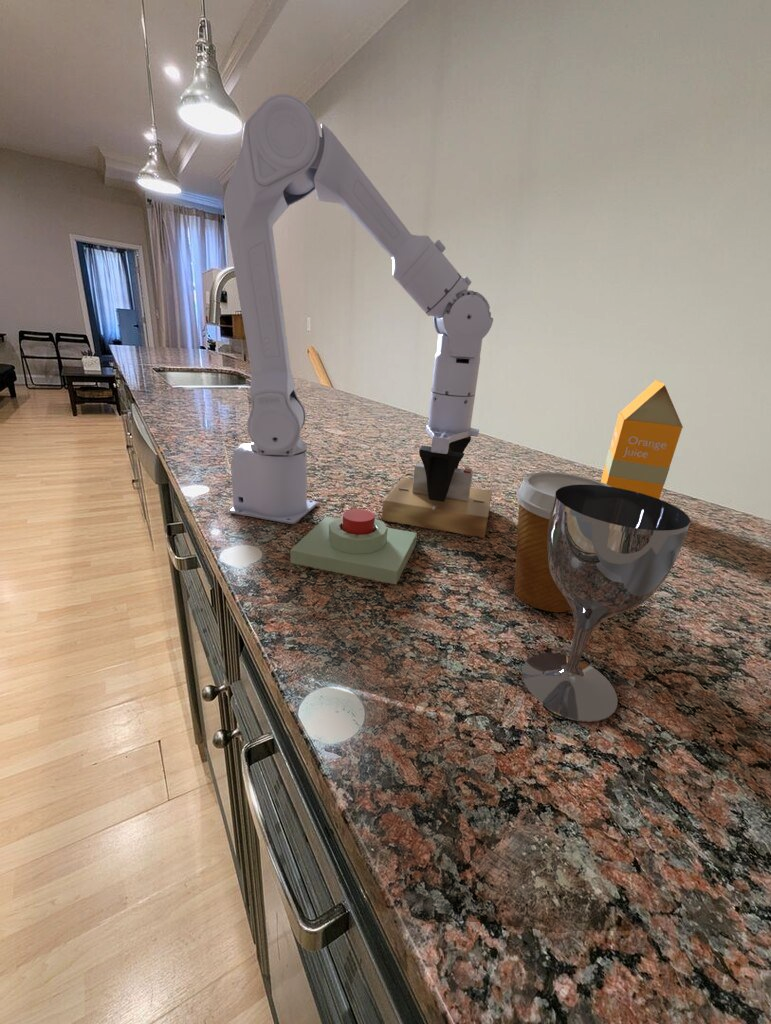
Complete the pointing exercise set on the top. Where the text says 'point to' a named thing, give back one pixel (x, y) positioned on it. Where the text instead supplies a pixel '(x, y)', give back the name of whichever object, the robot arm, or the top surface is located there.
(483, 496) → the wooden base
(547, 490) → the disposable coffee cup
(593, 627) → the wine glass
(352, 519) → the button
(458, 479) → the grey rectangular block
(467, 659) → the top surface
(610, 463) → the orange juice
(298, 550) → the button block
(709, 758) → the top surface
